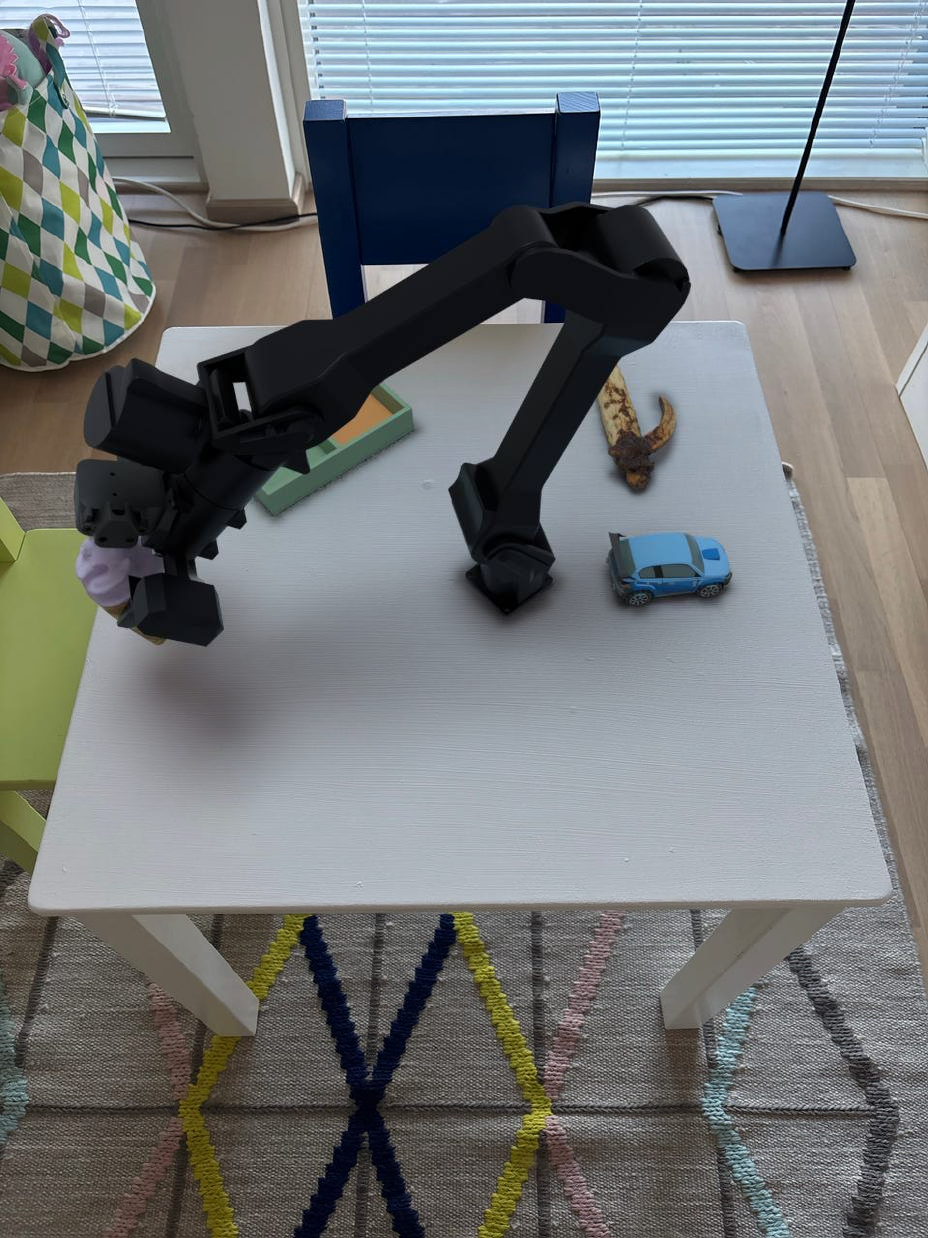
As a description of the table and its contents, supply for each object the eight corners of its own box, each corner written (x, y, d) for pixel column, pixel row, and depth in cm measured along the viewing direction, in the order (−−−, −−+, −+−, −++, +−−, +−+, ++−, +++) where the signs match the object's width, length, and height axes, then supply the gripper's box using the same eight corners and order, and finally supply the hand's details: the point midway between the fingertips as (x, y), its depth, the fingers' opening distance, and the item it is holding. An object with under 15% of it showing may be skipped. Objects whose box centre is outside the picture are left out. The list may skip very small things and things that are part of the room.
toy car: (731, 597, 90) (745, 564, 85) (611, 609, 90) (619, 577, 85) (716, 549, 93) (729, 515, 88) (600, 560, 93) (607, 526, 88)
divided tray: (414, 429, 102) (412, 407, 99) (274, 516, 96) (267, 495, 93) (362, 382, 106) (359, 360, 103) (224, 462, 100) (217, 441, 97)
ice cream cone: (173, 595, 86) (117, 491, 73) (213, 634, 83) (163, 534, 70) (113, 639, 83) (44, 540, 70) (153, 681, 81) (89, 586, 68)
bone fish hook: (693, 490, 98) (656, 369, 107) (705, 462, 94) (664, 338, 103) (608, 497, 97) (577, 374, 106) (616, 468, 93) (583, 343, 102)
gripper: (102, 353, 68) (16, 484, 76) (125, 549, 58) (23, 675, 66) (234, 406, 75) (142, 520, 83) (272, 587, 66) (165, 696, 74)
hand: (119, 595), depth 76 cm, fingers closed on ice cream cone, 6 cm apart
